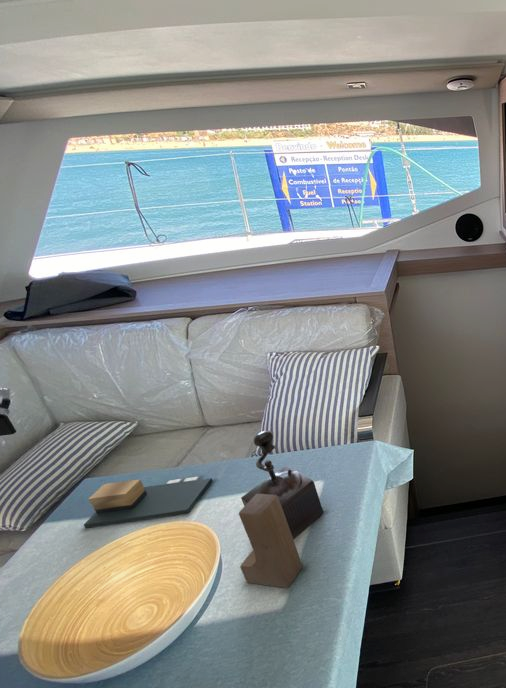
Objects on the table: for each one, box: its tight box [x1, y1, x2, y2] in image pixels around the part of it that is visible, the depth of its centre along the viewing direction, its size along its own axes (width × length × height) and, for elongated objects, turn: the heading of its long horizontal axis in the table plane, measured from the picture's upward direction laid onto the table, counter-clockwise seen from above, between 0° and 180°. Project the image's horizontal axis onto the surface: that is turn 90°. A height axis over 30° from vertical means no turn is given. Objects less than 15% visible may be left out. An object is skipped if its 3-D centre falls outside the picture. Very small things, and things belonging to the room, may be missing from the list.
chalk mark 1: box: [165, 478, 183, 484], centre depth 104 cm, size 3×1×1 cm, turn 97°
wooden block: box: [238, 494, 303, 589], centre depth 75 cm, size 9×4×18 cm, turn 80°
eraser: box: [88, 478, 147, 514], centre depth 97 cm, size 8×4×4 cm, turn 97°
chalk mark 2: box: [182, 476, 200, 482], centre depth 104 cm, size 3×1×1 cm, turn 97°
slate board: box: [83, 477, 214, 529], centre depth 98 cm, size 22×10×1 cm, turn 97°
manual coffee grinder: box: [240, 430, 325, 540], centre depth 88 cm, size 16×11×18 cm
